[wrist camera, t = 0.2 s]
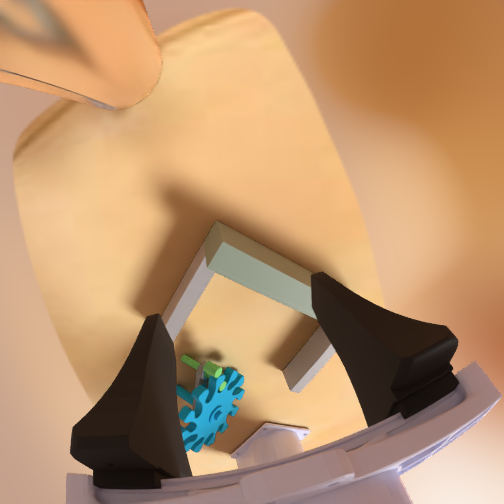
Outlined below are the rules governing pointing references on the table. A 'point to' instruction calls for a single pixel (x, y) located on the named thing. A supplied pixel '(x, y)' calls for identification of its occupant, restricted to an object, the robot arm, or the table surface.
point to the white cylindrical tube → (80, 49)
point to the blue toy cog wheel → (208, 402)
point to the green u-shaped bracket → (255, 278)
